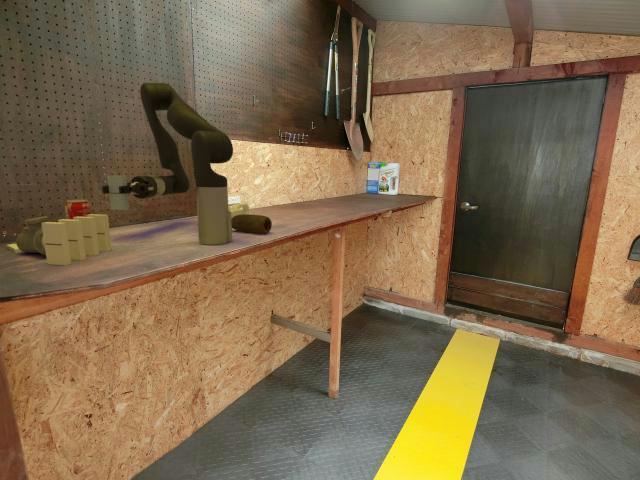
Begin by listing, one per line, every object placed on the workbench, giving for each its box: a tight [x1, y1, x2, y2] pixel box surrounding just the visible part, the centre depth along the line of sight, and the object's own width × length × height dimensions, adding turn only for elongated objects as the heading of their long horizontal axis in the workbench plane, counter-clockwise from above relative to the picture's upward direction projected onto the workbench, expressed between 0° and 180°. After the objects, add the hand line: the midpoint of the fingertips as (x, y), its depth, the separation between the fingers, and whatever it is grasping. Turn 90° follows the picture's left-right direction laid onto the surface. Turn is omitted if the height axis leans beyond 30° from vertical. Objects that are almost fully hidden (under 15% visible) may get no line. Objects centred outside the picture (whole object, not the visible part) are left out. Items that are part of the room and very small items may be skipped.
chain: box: [228, 202, 250, 219], centre depth 152 cm, size 30×6×6 cm, turn 158°
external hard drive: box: [6, 243, 24, 254], centre depth 103 cm, size 2×8×12 cm
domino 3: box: [73, 216, 100, 257], centre depth 94 cm, size 2×5×10 cm, turn 81°
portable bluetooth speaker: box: [231, 213, 273, 235], centre depth 128 cm, size 15×7×7 cm, turn 66°
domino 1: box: [41, 221, 72, 266], centre depth 85 cm, size 2×5×10 cm, turn 81°
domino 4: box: [87, 213, 113, 253], centre depth 98 cm, size 2×5×10 cm, turn 81°
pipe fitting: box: [15, 215, 50, 256], centre depth 94 cm, size 12×8×10 cm, turn 69°
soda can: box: [64, 199, 93, 219], centre depth 113 cm, size 7×7×12 cm
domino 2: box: [57, 218, 87, 261], centre depth 90 cm, size 2×5×10 cm, turn 81°
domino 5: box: [106, 175, 130, 211], centre depth 107 cm, size 2×5×10 cm, turn 81°
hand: (111, 190), depth 105 cm, fingers closed on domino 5, 5 cm apart
